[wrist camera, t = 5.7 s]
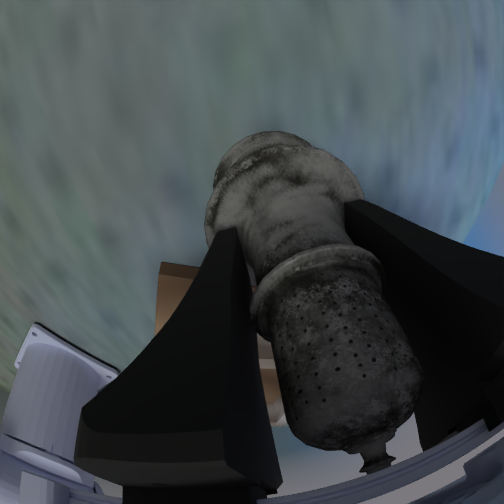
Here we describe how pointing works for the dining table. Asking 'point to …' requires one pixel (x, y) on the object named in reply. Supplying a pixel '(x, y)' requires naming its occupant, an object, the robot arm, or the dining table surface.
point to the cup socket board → (175, 287)
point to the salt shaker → (317, 295)
